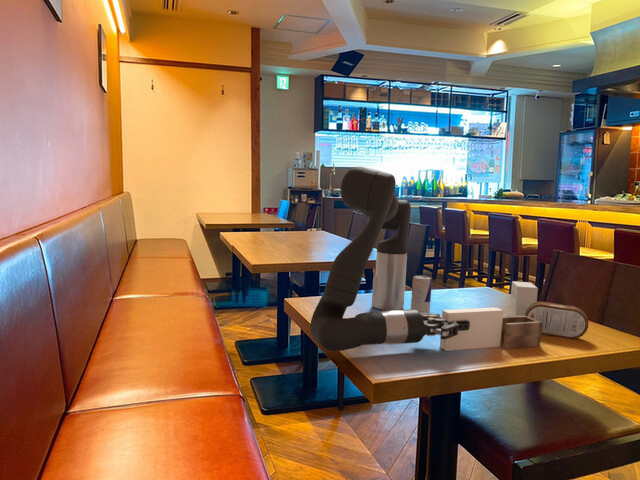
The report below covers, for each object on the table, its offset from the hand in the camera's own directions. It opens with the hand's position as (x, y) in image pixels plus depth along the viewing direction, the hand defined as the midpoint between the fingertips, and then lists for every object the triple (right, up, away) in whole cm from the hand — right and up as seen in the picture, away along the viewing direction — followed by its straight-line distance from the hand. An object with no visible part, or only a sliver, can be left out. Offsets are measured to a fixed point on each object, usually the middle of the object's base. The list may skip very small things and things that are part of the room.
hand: (464, 323), depth 111 cm
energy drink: (-6, -3, +24) cm, 25 cm away
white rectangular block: (+2, -6, +1) cm, 6 cm away
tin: (+28, -6, +13) cm, 31 cm away
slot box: (+14, -6, +5) cm, 16 cm away
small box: (+25, -4, +27) cm, 37 cm away
